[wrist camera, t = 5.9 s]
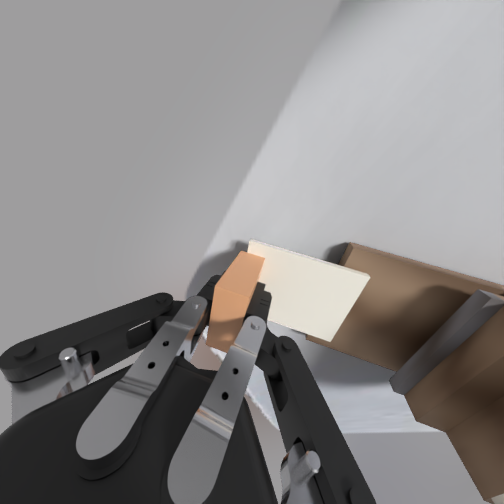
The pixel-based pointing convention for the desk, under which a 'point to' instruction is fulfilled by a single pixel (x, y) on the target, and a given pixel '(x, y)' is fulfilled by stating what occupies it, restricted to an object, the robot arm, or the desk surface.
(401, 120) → the desk surface
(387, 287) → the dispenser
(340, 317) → the plank with orange cube
